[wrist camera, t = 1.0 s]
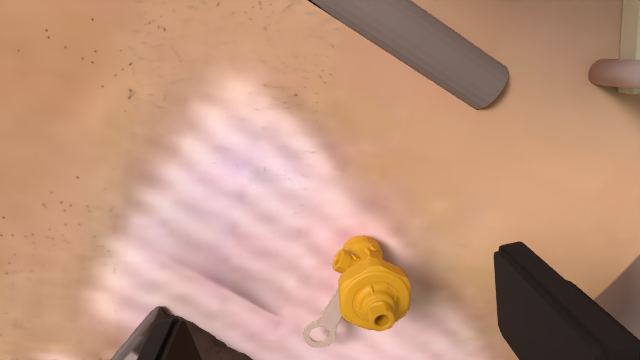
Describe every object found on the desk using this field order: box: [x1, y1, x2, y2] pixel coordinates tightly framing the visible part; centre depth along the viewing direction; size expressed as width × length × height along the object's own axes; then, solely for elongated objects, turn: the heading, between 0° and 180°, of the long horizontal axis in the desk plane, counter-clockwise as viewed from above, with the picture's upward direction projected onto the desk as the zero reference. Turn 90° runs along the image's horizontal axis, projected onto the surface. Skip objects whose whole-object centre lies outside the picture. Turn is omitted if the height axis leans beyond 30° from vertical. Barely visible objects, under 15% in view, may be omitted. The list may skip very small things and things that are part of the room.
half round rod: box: [308, 0, 509, 109], centre depth 28 cm, size 4×20×2 cm, turn 60°
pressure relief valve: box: [304, 236, 411, 348], centre depth 30 cm, size 6×12×10 cm, turn 152°
